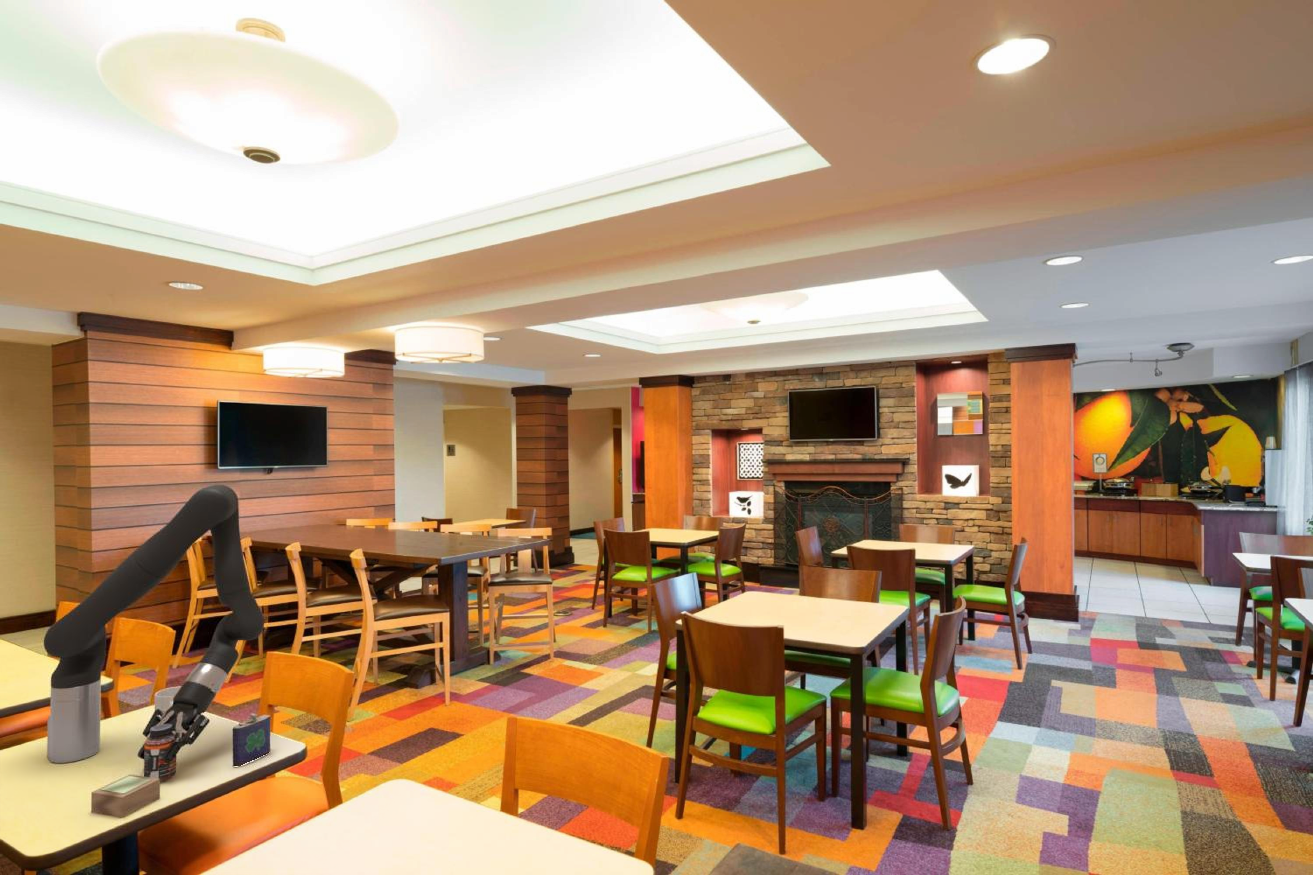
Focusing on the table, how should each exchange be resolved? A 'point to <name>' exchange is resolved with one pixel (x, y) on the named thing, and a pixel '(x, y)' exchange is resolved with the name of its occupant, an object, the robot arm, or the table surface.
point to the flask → (251, 739)
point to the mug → (165, 699)
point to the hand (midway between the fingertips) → (153, 759)
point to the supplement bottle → (159, 753)
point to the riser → (125, 795)
